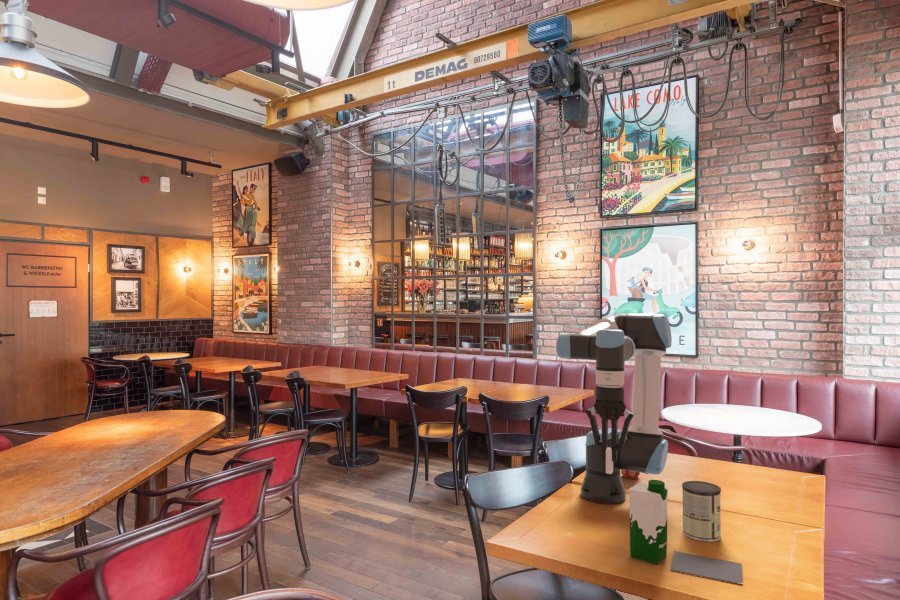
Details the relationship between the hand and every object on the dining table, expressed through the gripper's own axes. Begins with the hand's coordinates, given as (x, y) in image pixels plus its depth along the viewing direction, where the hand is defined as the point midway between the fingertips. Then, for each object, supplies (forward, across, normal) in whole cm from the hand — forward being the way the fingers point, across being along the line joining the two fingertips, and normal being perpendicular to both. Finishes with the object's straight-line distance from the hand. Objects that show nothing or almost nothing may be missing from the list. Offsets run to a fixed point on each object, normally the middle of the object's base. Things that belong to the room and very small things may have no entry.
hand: (609, 472), depth 151 cm
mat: (+21, +24, 0) cm, 32 cm away
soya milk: (+21, +10, 0) cm, 23 cm away
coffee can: (+21, +22, +22) cm, 38 cm away
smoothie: (+20, -5, +70) cm, 74 cm away
